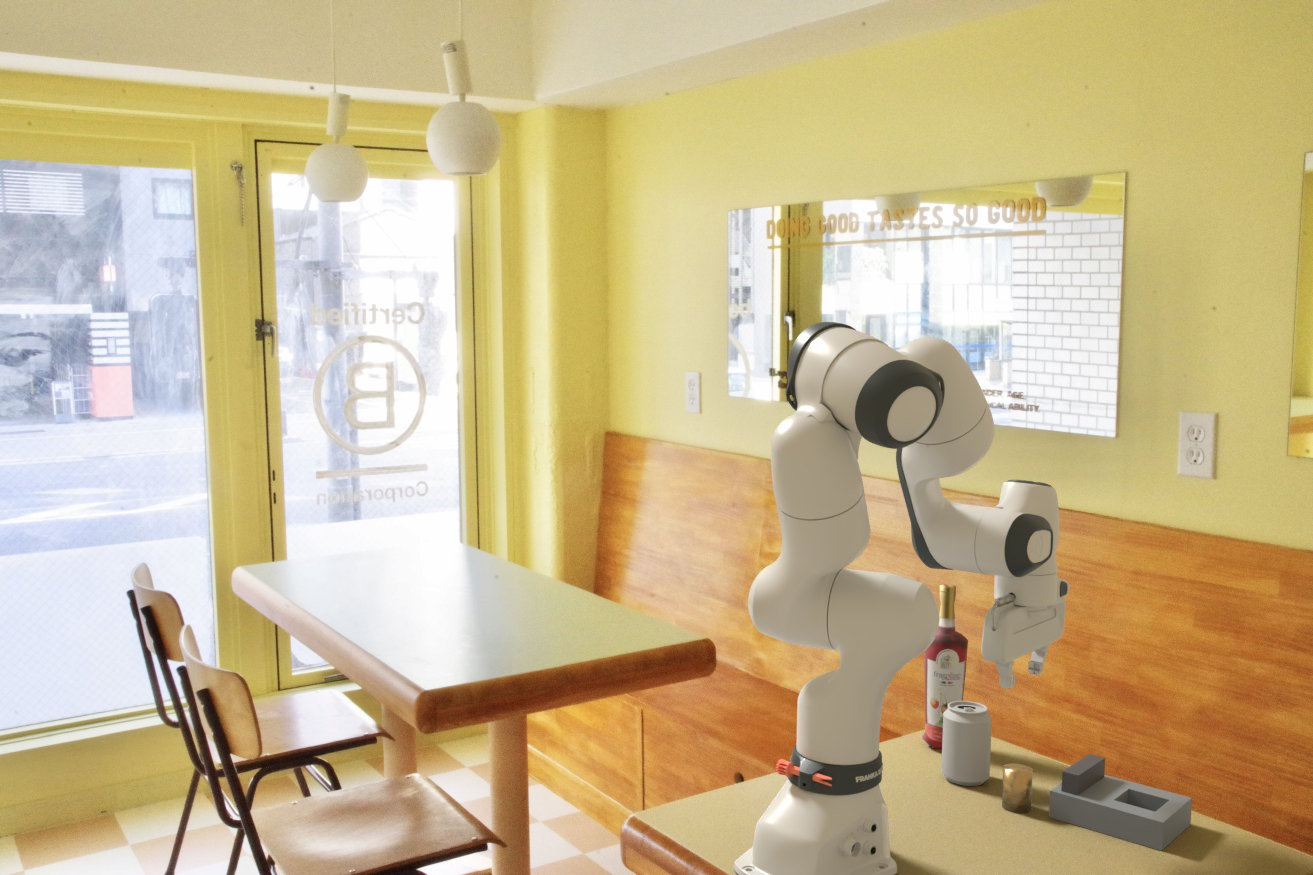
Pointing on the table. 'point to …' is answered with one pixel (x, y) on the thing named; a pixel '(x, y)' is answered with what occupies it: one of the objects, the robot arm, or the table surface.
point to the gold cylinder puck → (1017, 788)
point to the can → (966, 743)
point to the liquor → (943, 669)
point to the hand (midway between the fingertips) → (1021, 680)
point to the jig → (1118, 805)
